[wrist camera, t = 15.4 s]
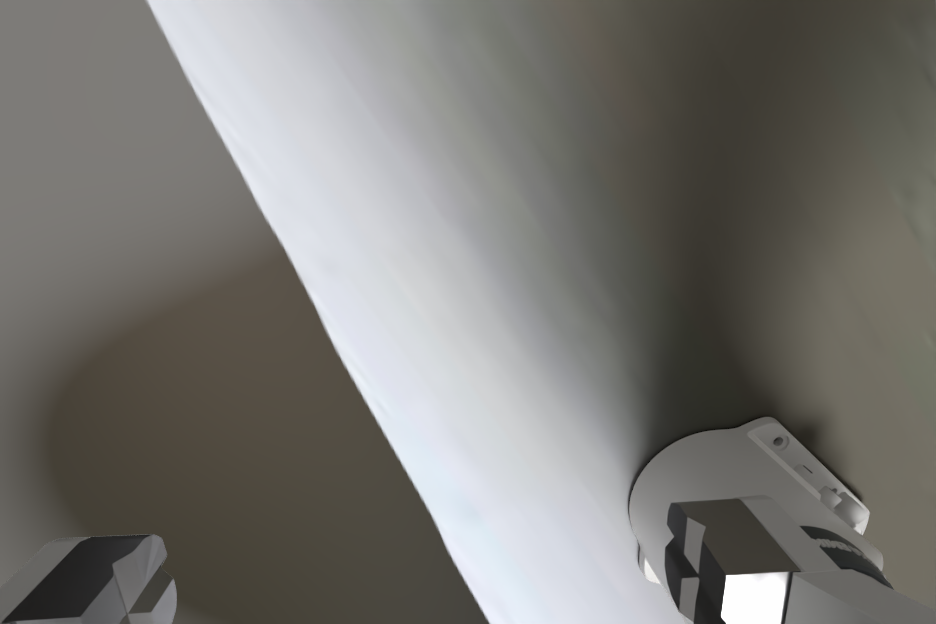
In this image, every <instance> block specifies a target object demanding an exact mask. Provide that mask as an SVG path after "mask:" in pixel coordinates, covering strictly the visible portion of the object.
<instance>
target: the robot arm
mask: <svg viewBox="0 0 936 624" xmlns="http://www.w3.org/2000/svg"><path fill="white" fill-rule="evenodd" d="M776 438H777V440H776V441H774V440H775V439H776ZM629 514H630V521H631V525H632V528H633V531H634V533H635V535H636V537H637V539H638V542H639V545H640V555H639V567H640V570H641V572H642V573H643V575H644V576H645V578H646V579H647V580H648V581H651V582H654V583H657V584H661V585H662V586H663V588H664V589H665V591H666V593H667V594H668V596H669V598H670V599H671V601H672V602H673V604H674V605H675V607H676V609H677V610H678V612H679V613H680V615H681V616H682V618H683V620H684V621H685V623H686V624H936V610H934V609H932V608H930V607H927V606H925V605H923V604H921V603H919V602H917V601H915V600H913V599H911V598H909V597H907V596H905V595H903V594H901V593H899V592H897V591H895V590H894V589H893V587H892V586H891V584H890V583H889V582H888V580H887V578H886V577H885V575H884V574H883V573H882V569H883V556H882V554H881V552H880V551H879V550H878V549H877V548H876V547H875V546H873V545H872V544H871V543H870V542H869V541H868V540H867V539H866V538H865V537H863V533H864V531H865V529H866V526H867V522H868V518H869V514H870V513H869V511H868V509H867V508H866V507H865V505H864V504H863V503H862V502H861V501H860V500H859V499H858V498H857V497H856V496H855V495H854V494H853V493H852V492H851V491H849V490H848V489H847V488H846V487H845V486H844V485H843V484H842V483H841V482H840V481H839V480H838V479H837V478H836V477H835V476H834V475H833V474H832V473H831V472H830V471H829V470H828V469H827V468H826V467H825V466H824V465H823V464H822V463H821V462H819V461H818V460H817V459H816V458H815V457H814V456H813V455H812V454H811V453H810V452H809V451H808V450H807V449H806V448H805V447H804V446H803V445H802V444H801V443H800V442H799V441H798V440H797V439H796V438H795V437H794V436H793V435H792V434H791V433H789V432H788V431H787V430H786V429H785V428H784V427H783V426H782V425H781V424H780V423H779V422H778V421H777V420H776V419H774V418H772V417H763V418H759V419H756V420H754V421H751V422H749V423H747V424H744V425H742V426H740V427H738V428H733V429H723V430H711V431H705V432H700V433H696V434H693V435H690V436H687V437H685V438H682V439H680V440H678V441H676V442H675V443H673V444H671V445H669V446H668V447H666V448H665V449H664V450H662V451H661V452H660V453H659V454H657V455H656V456H655V457H654V458H653V459H652V460H651V461H650V462H649V463H648V464H647V466H646V467H645V468H644V470H643V471H642V472H641V474H640V476H639V477H638V479H637V481H636V483H635V485H634V488H633V491H632V494H631V498H630V506H629ZM166 557H167V553H166V550H165V547H164V543H163V540H162V538H161V537H158V536H156V535H154V534H147V535H122V536H121V535H120V536H94V537H90V538H89V537H79V538H60V539H57V540H55V541H52V542H49V543H47V544H46V545H45V546H44V547H43V548H42V549H40V550H39V551H38V552H37V553H36V554H35V555H34V556H33V557H32V558H31V559H30V560H29V561H28V562H27V563H26V564H25V565H23V566H22V568H20V569H19V570H18V571H17V572H16V573H15V574H14V575H13V576H12V577H11V578H10V579H9V580H8V581H6V583H4V584H3V585H2V586H1V587H0V624H172V621H173V617H174V614H175V610H176V588H175V583H174V579H173V578H172V577H171V576H170V575H169V574H168V573H166V572H165V571H164V570H163V569H162V568H161V565H162V564H163V562H164V560H165V558H166Z"/></svg>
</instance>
